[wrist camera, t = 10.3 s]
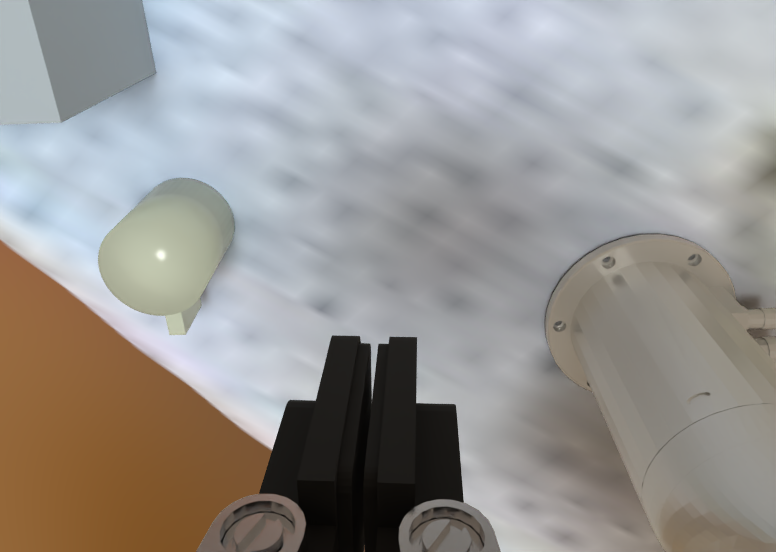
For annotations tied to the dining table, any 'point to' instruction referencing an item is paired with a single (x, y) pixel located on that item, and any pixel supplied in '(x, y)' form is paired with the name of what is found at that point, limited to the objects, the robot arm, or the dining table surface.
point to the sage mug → (168, 250)
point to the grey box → (68, 56)
